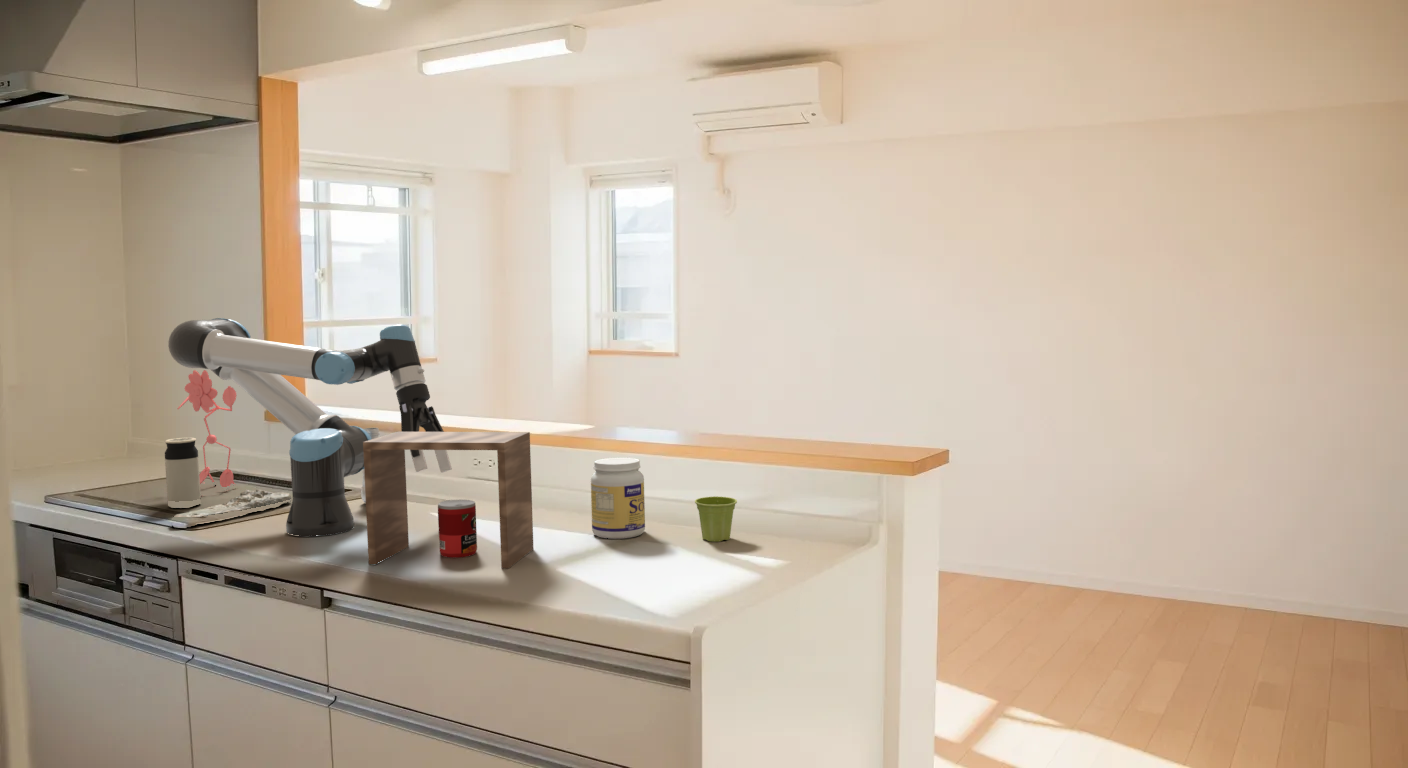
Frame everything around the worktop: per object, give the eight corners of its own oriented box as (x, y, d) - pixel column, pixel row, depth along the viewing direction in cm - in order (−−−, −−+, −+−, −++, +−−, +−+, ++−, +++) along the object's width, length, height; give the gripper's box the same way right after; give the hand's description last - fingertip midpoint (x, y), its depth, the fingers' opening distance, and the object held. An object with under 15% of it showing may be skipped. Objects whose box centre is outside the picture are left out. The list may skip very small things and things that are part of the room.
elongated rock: (160, 533, 263) (188, 539, 258) (158, 512, 262) (186, 517, 258) (273, 499, 294) (300, 504, 289) (272, 480, 293) (299, 485, 289)
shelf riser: (368, 565, 222) (363, 442, 220) (402, 546, 238) (397, 431, 236) (508, 568, 217) (504, 442, 215) (533, 549, 233) (529, 432, 231)
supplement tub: (633, 541, 239) (631, 466, 237) (582, 538, 243) (580, 464, 241) (653, 529, 250) (651, 457, 249) (605, 526, 254) (603, 455, 253)
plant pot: (739, 534, 244) (738, 496, 243) (736, 544, 235) (735, 504, 234) (697, 534, 245) (697, 496, 244) (693, 543, 236) (692, 504, 235)
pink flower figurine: (199, 483, 323) (190, 366, 319) (258, 490, 310) (249, 368, 306) (152, 493, 309) (142, 371, 305) (211, 500, 297) (201, 374, 293)
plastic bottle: (359, 502, 289) (356, 428, 287) (385, 499, 292) (382, 426, 290) (363, 506, 283) (359, 430, 282) (389, 503, 286) (386, 429, 284)
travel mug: (207, 505, 289) (203, 438, 287) (179, 510, 282) (175, 442, 281) (189, 502, 293) (185, 436, 292) (161, 507, 287) (157, 440, 285)
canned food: (468, 558, 226) (466, 506, 225) (433, 557, 228) (431, 506, 227) (483, 549, 233) (481, 499, 232) (448, 548, 235) (446, 498, 234)
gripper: (401, 377, 249) (425, 464, 246) (446, 386, 274) (469, 466, 270) (372, 387, 250) (396, 474, 247) (419, 396, 275) (442, 475, 272)
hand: (434, 470), depth 259 cm, fingers open, 13 cm apart
